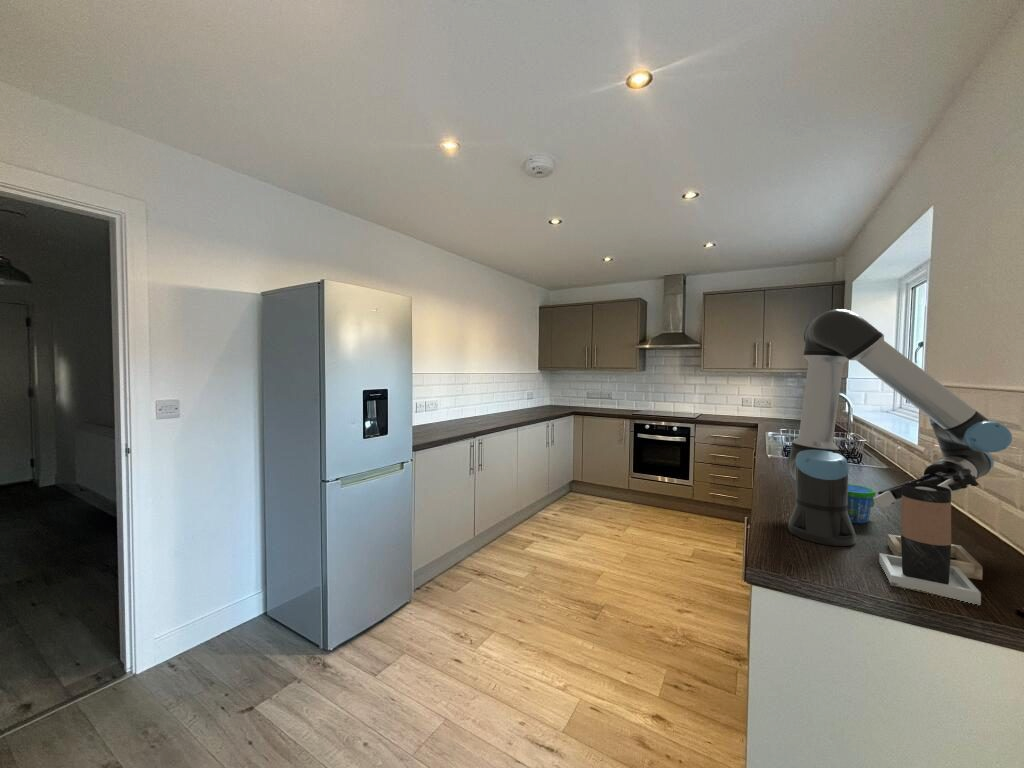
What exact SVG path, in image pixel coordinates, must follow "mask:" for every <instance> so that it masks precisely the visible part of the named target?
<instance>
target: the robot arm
mask: <svg viewBox="0 0 1024 768" xmlns="http://www.w3.org/2000/svg"><path fill="white" fill-rule="evenodd" d="M802 336H803V341H804V350H803V358H805V360H807V362H808V363H807V370H806V377H805V378H806V379H805V384H804V385H805V388H804V393H803V399H802V401H803V402H802V408H801V409H802V410H801V418H800V426H799V430H798V431H799V432H798V437H796V438H795V439H793V440H792V442H791V447H790V453H789V454H788V458H787V459H786V468H787V470H788V472H789V474H790V476H791V477H792V478H793V479H794V481H795V505H794V508H793V510H792V513H791V515H790V517H789V521H788V525H787V526H788V529H789V530H788V531H790V532H791V533H790V532H789V533H790V534H792V535H793V534H794V536H795V535H796V536H795V537H797V536H798V537H797V538H799V537H800V538H799V539H802V540H805V541H808V542H813V543H817V544H821V545H825V546H826V545H827V546H836V547H849V546H853V545H855V544H856V542H857V541H856V540H857V539H856V538H857V535H856V531H855V528H854V526H853V523H852V522H851V520H850V518H849V515H848V509H847V505H848V484H849V465H848V460H847V458H846V457H845V456H843V455H841V454H840V453H839V447H838V446H837V445H836V444H835V443H834V436H835V427H836V421H837V415H838V408H839V407H838V405H839V399H840V392H841V384H842V378H843V377H842V376H843V370H844V365H845V363H846V362H848V361H856V362H858V364H859V363H860V365H862V366H863V367H864V368H865V369H867V370H868V371H869V372H870V373H872V374H873V375H874V376H876V377H877V378H878V379H880V380H881V381H882V382H883V383H884V384H886V385H887V386H889V387H890V388H891V389H892V390H893V391H895V392H896V393H897V394H899V395H900V396H901V397H902V398H904V399H905V400H906V401H907V402H908V403H910V404H911V405H913V406H914V407H915V408H916V409H918V410H919V411H920V412H922V414H924V415H925V416H926V417H928V418H929V422H930V426H931V428H932V430H933V433H934V435H935V437H936V441H937V443H938V445H939V448H940V452H941V454H942V456H943V458H941V459H939V460H937V461H935V462H934V463H932V464H930V465H928V466H926V468H924V472H923V475H921V477H918V478H916V479H913V480H911V479H909V480H907V481H904V482H902V483H901V484H898V485H895V486H892V487H889V488H887V489H884V490H880V491H878V492H877V494H878V495H877V496H874V497H873V499H874V503H875V504H876V506H878V508H879V509H883V508H885V507H887V506H890V505H891V504H892V505H893V504H895V502H896V501H897V500H898V499H902V485H904V484H905V483H924V484H931V485H937V486H941V487H945V488H948V489H950V490H951V496H952V495H954V494H955V493H957V492H960V490H962V489H965V490H966V489H967V488H968V487H969V485H970V487H977V486H978V485H979V482H977V480H979V479H980V478H981V477H984V476H986V475H988V473H989V472H990V471H991V470H993V468H994V465H995V460H994V458H993V456H992V455H991V454H990V453H998V452H1001V451H1004V450H1006V449H1007V448H1008V447H1009V446H1010V445H1011V444H1012V442H1013V435H1012V433H1011V431H1010V429H1008V427H1007V426H1005V425H1003V424H1001V423H999V422H996V421H993V420H990V419H988V418H987V417H985V416H984V414H982V413H980V412H979V411H977V410H976V409H975V408H974V407H973V406H971V405H970V404H968V403H967V402H966V401H965V400H963V399H961V397H959V396H958V395H957V394H955V393H954V392H953V391H951V390H950V389H948V388H947V387H946V386H945V385H943V384H942V383H941V382H940V381H938V380H937V379H936V378H934V377H933V376H931V375H930V374H929V373H928V372H926V371H925V370H924V369H923V368H921V367H919V366H918V365H917V364H916V363H915V362H913V361H912V360H910V358H907V357H906V356H905V355H904V354H902V353H901V352H900V351H899V350H897V349H896V347H895V348H894V346H892V345H890V344H889V343H888V342H887V341H885V334H884V333H882V331H880V330H878V329H877V328H876V327H875V326H874V325H872V324H871V323H870V322H869V321H867V320H866V319H864V318H863V317H861V316H860V315H859V314H857V313H855V312H853V311H851V310H848V309H844V308H841V309H839V308H837V309H836V308H835V309H832V310H828V311H825V312H823V313H822V314H820V315H818V316H816V317H815V318H813V319H812V320H811V321H810V322H809V323H807V325H806V327H805V328H804V331H803V335H802Z"/></svg>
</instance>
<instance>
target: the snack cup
mask: <svg viewBox="0 0 1024 768" xmlns="http://www.w3.org/2000/svg"><path fill="white" fill-rule="evenodd" d="M876 495H877V494H876V491H875V490H874V489H873V488H869V487H867V486H862V485H858V484H857V485H856V484H849V483H848V505H847V509H848V515H849V518H850V520H851V523H852V524H866V523H868V522H869V520H870V516H871V510H872V508H873V507H874V506H875V501H874V499H873V498H875V497H876Z"/></svg>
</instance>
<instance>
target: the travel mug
mask: <svg viewBox="0 0 1024 768" xmlns="http://www.w3.org/2000/svg"><path fill="white" fill-rule="evenodd" d="M904 483H905V482H904ZM900 513H901V516H900V517H901V519H900V520H901V521H900V522H901V523H900V536H901V551H902V572H903V574H904V575H905V576H907V577H912V578H917V579H922V580H927V581H932V582H937V583H942V584H947V585H948V583H949V574H950V559H951V557H950V556H951V544H952V495H951V490H950V489H948V488H945V487H941V486H937V485H931V484H924V483H905V484H904V485H902V498H901V512H900Z"/></svg>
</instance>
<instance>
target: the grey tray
mask: <svg viewBox="0 0 1024 768" xmlns="http://www.w3.org/2000/svg"><path fill="white" fill-rule="evenodd" d="M878 555H879V561H878V562H879V563H880V564H879V566H880V565H881V566H880V568H881V567H882V568H881V570H882V569H883V570H884V572H885V574H886V576H887V578H888V580H889V582H890V583H891V584H892V585H896V586H902V587H906V588H911V589H917V590H922V591H926V592H929V593H933V594H937V595H941V596H945V597H949V598H953V599H957V600H960V601H959V602H961V601H964V602H963V603H966V602H968V603H967V604H970V603H972V605H975V604H977V605H976V606H980V605H982V592H981V591H980V590H979V589H978V588H977V587H976V586H975V585H974V583H973V582H972V581H971V580H970V578H968V577H966V576H965V575H964V574H963V573H962V571H961V570H960V569H959V568H958V567H954V566H950V574H949V583H948V585H947V584H942V583H937V582H932V581H927V580H922V579H917V578H912V577H907V576H905V575H904V574H903V572H902V557H899V556H894V555H893V554H887V553H881V552H879V553H878ZM883 570H882V571H883ZM884 572H883V573H884ZM885 574H884V575H885ZM886 576H885V577H886ZM887 578H886V579H887ZM888 580H887V581H888ZM889 582H888V583H889Z"/></svg>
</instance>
